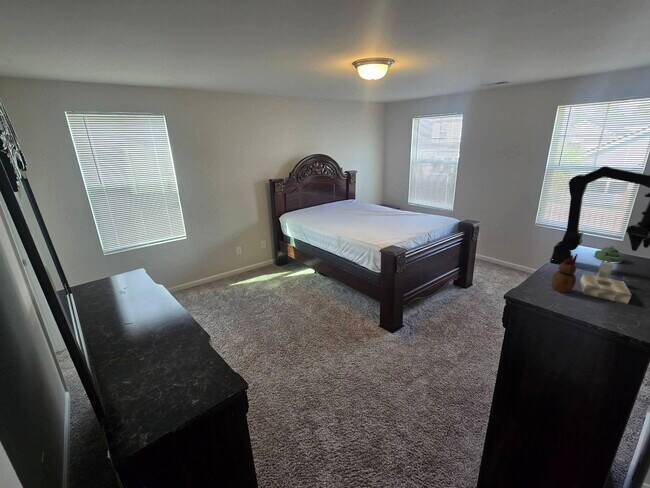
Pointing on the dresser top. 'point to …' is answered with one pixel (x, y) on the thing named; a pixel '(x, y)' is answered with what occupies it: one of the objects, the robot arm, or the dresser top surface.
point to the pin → (605, 269)
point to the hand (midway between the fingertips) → (639, 249)
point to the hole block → (605, 288)
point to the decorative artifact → (609, 255)
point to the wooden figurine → (565, 276)
